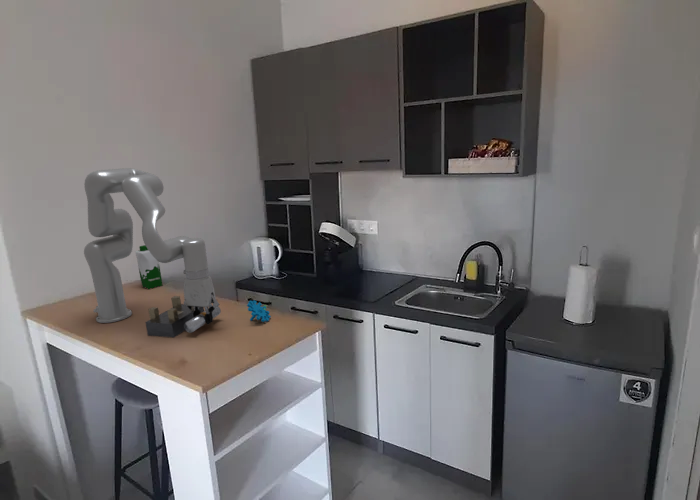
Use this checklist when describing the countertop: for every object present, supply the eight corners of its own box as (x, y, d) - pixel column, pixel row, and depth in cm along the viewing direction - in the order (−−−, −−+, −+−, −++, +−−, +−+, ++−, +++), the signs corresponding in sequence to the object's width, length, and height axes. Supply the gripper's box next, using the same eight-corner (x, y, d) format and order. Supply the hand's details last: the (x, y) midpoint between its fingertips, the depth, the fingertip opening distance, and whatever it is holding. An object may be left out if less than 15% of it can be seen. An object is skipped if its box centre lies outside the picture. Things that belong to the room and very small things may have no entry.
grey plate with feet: (147, 335, 153) (143, 311, 151) (180, 316, 170) (177, 294, 168) (174, 337, 150) (169, 312, 148) (205, 317, 167) (201, 295, 165)
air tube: (195, 333, 148) (193, 321, 148) (185, 332, 150) (183, 321, 149) (221, 315, 163) (220, 305, 162) (212, 315, 165) (210, 304, 164)
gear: (263, 322, 154) (244, 302, 155) (253, 333, 156) (234, 313, 157) (276, 315, 165) (259, 296, 166) (267, 325, 166) (249, 306, 167)
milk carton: (157, 282, 219) (150, 243, 215) (165, 285, 213) (158, 245, 208) (139, 287, 213) (132, 247, 208) (147, 290, 207) (140, 249, 202)
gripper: (170, 275, 151) (177, 325, 155) (211, 278, 146) (218, 328, 151) (183, 269, 158) (190, 317, 162) (224, 271, 153) (230, 320, 157)
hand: (203, 322), depth 156 cm, fingers closed on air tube, 4 cm apart
